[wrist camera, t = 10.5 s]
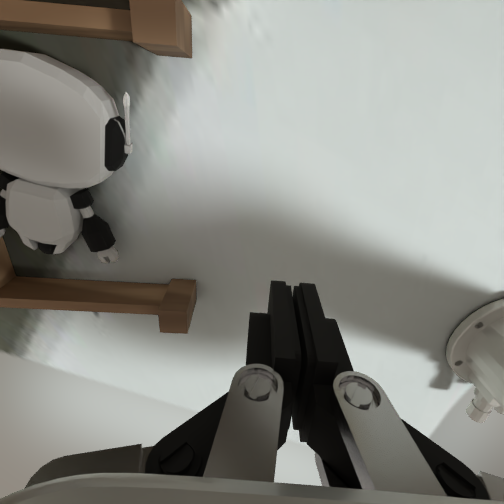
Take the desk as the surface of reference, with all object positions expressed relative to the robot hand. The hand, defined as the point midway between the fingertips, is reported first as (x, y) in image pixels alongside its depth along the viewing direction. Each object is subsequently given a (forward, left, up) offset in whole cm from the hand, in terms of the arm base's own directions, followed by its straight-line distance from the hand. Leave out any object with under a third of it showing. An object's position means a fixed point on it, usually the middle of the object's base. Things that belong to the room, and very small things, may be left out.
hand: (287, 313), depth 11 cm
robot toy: (+2, +17, -16) cm, 23 cm away
